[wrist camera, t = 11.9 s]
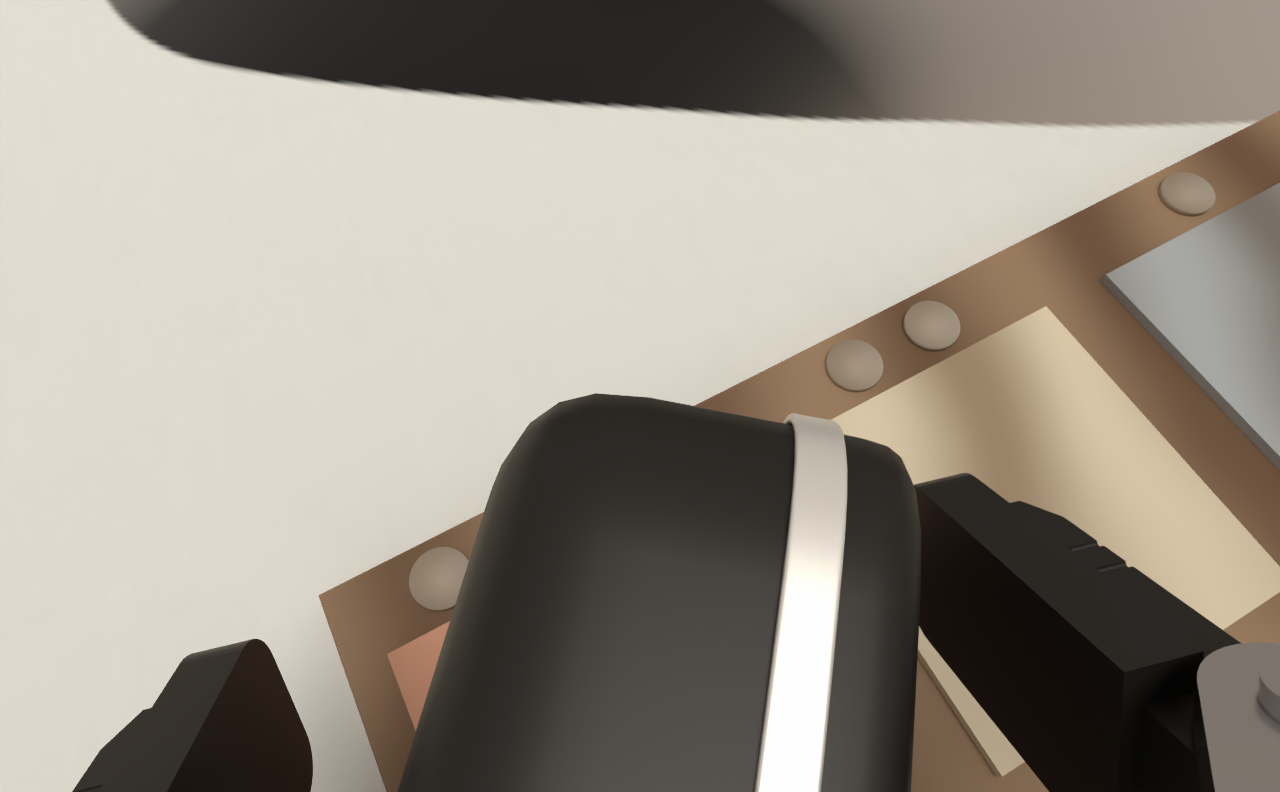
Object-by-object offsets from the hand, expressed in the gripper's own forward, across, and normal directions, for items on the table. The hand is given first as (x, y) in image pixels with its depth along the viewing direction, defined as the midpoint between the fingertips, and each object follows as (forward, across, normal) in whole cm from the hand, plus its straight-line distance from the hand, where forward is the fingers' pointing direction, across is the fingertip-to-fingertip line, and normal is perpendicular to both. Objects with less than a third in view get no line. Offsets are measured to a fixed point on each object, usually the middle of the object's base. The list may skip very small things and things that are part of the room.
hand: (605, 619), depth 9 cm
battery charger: (+4, 0, +6) cm, 8 cm away
